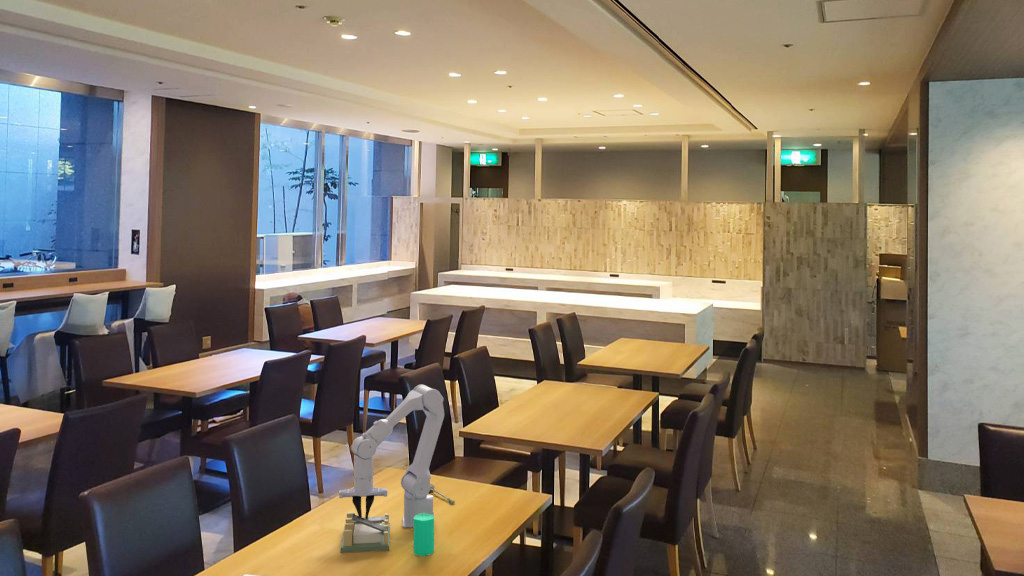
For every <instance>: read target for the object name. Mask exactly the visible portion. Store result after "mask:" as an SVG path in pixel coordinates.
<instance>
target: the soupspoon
mask: <svg viewBox="0 0 1024 576" xmlns="http://www.w3.org/2000/svg"><path fill="white" fill-rule="evenodd" d="M430 491H431V492H434V493H436V494H437V495H440V496H441V497H443V498H444V499H446V500H447V501H448V502H449V504H450V505H454V504H455V503H456V502H455V500H452V499H451V498H450V497H448V496H447V495H444V494H443V493H441V492H439V491H438V490H436V489H435V485H434V484H432V483H430Z"/></svg>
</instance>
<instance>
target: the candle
mask: <svg viewBox="0 0 1024 576" xmlns="http://www.w3.org/2000/svg"><path fill="white" fill-rule="evenodd" d="M433 552H434V553H435V514H434V515H430V514H427V513H422V514H418V515H416V516H415V517H414V527H413V554H414V555H416V556H418V555H420V556H419V557H426V556H425V555H428V556H430V555H429V554H431V555H432V553H433ZM434 553H433V554H434Z"/></svg>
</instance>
